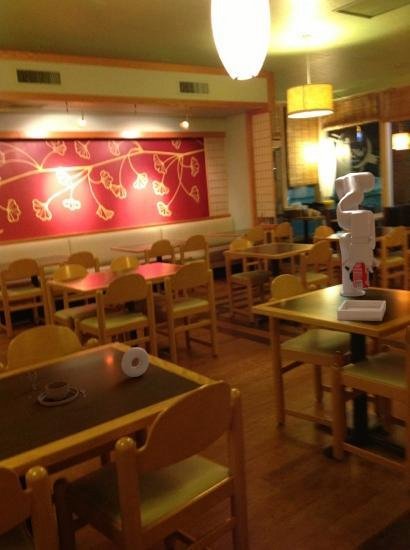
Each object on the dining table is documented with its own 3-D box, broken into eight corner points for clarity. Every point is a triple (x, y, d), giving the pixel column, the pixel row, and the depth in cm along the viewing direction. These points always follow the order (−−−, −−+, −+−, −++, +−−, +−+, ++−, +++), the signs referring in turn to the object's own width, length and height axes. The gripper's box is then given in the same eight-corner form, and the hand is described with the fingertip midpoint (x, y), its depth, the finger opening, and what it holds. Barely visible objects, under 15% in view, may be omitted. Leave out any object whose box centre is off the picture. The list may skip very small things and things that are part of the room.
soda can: (368, 286, 234) (367, 259, 232) (371, 289, 227) (370, 261, 225) (351, 287, 235) (350, 260, 233) (354, 290, 228) (353, 262, 226)
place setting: (28, 413, 155) (25, 393, 154) (28, 390, 173) (25, 372, 172) (89, 401, 160) (87, 382, 159) (82, 380, 179) (80, 363, 178)
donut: (126, 381, 172) (123, 352, 171) (120, 379, 175) (117, 350, 174) (152, 373, 178) (149, 344, 177) (147, 371, 181) (144, 343, 179)
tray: (344, 308, 246) (344, 300, 245) (385, 309, 239) (385, 300, 238) (337, 319, 228) (337, 310, 227) (381, 320, 221) (381, 311, 220)
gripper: (382, 238, 228) (383, 279, 231) (340, 240, 235) (342, 279, 238) (380, 240, 221) (381, 283, 224) (338, 242, 228) (339, 282, 231)
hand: (361, 281), depth 231 cm, fingers closed on soda can, 7 cm apart
